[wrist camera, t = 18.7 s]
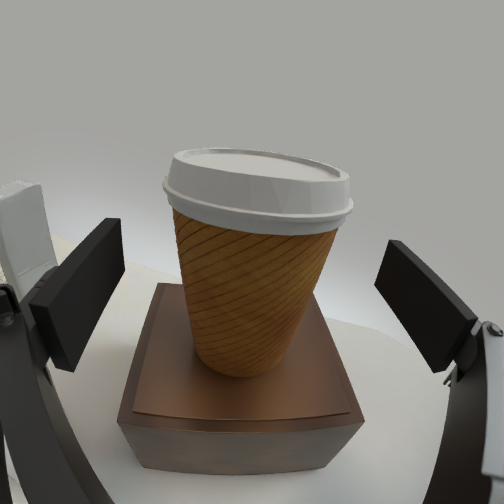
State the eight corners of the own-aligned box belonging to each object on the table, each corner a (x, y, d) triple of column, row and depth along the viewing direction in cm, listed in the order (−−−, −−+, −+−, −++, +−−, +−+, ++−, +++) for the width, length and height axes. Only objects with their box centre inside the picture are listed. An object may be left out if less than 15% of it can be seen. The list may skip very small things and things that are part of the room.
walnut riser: (295, 350, 29) (312, 289, 26) (324, 467, 17) (366, 420, 13) (164, 345, 28) (157, 280, 24) (143, 467, 15) (115, 420, 12)
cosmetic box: (71, 304, 31) (49, 181, 24) (29, 330, 25) (-8, 200, 18) (45, 280, 34) (26, 174, 27) (8, 300, 28) (-19, 189, 21)
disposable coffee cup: (293, 303, 24) (323, 158, 18) (323, 395, 15) (397, 198, 10) (178, 297, 22) (180, 144, 17) (160, 394, 14) (136, 171, 9)
